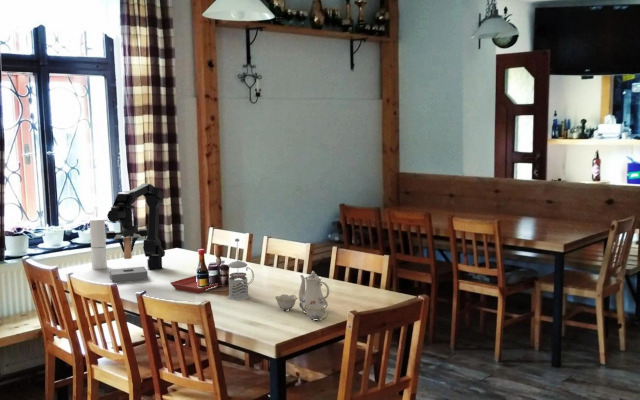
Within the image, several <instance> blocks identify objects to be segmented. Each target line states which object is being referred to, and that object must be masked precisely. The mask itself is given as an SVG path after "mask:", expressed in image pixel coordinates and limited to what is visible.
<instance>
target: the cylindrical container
mask: <svg viewBox="0 0 640 400" xmlns="http://www.w3.org/2000/svg"><path fill="white" fill-rule="evenodd" d="M105 221H106V219H105V218H104V217H94V218H90V219H89V229H90V231H89V232H90V234H89V235H90V249H91V250H90V251H91V267H92V268H91V269H93V270H101V269H106V268H108V262H107V243H106V242H107V241H106V240H107V239H106V223H105Z"/></svg>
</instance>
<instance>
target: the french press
mask: <svg viewBox="0 0 640 400" xmlns="http://www.w3.org/2000/svg"><path fill="white" fill-rule="evenodd" d="M234 242H236V253H237V257H236V260H235V261H231V262H230V263H229V264H228V265H227V267H228V268H230V269H242V268H245V271H246V272H248V269H249V270H250V271H251V274H252V275H251V276H252V277H251V280H250V281H248V277H247V273H246V272H238V271H237V272H232V273H229V277H228V295H227V296H226V299H228V300H231V301H241V300H242V299H243V300H247V299H250V298H251V295H250V294H249V285H251V284H252V283H253V282H254V278H255V273H254V271H253V270H252V269H251V268H250V267H248V264H247V262H244V261H240V260H239V254H238V250H239V249H238V246H239V245H238V244H239V243H238V242H240V238H235V239H234Z"/></svg>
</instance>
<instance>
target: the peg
mask: <svg viewBox="0 0 640 400" xmlns="http://www.w3.org/2000/svg"><path fill="white" fill-rule="evenodd" d="M122 241H123V247H124V252H123V258H124V260H130V259H132V258H133V257H132V252H131V237H123V236H122Z"/></svg>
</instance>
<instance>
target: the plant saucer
mask: <svg viewBox="0 0 640 400" xmlns="http://www.w3.org/2000/svg"><path fill="white" fill-rule="evenodd" d="M170 285H171V286H172V287H173V288H174V289H176V290H180V291H185V292H191V293H197V294H201V293H205V292H206V291H205V290H206V289H208V288H211V287H214V286H216V285H218V283H215V284H212V285H209V286H205V287H202V288H198V287H197V282H196V275H193V276H189V277H185V278H181V279H178V280H174V281H171V282H170ZM204 291H205V292H204Z"/></svg>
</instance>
